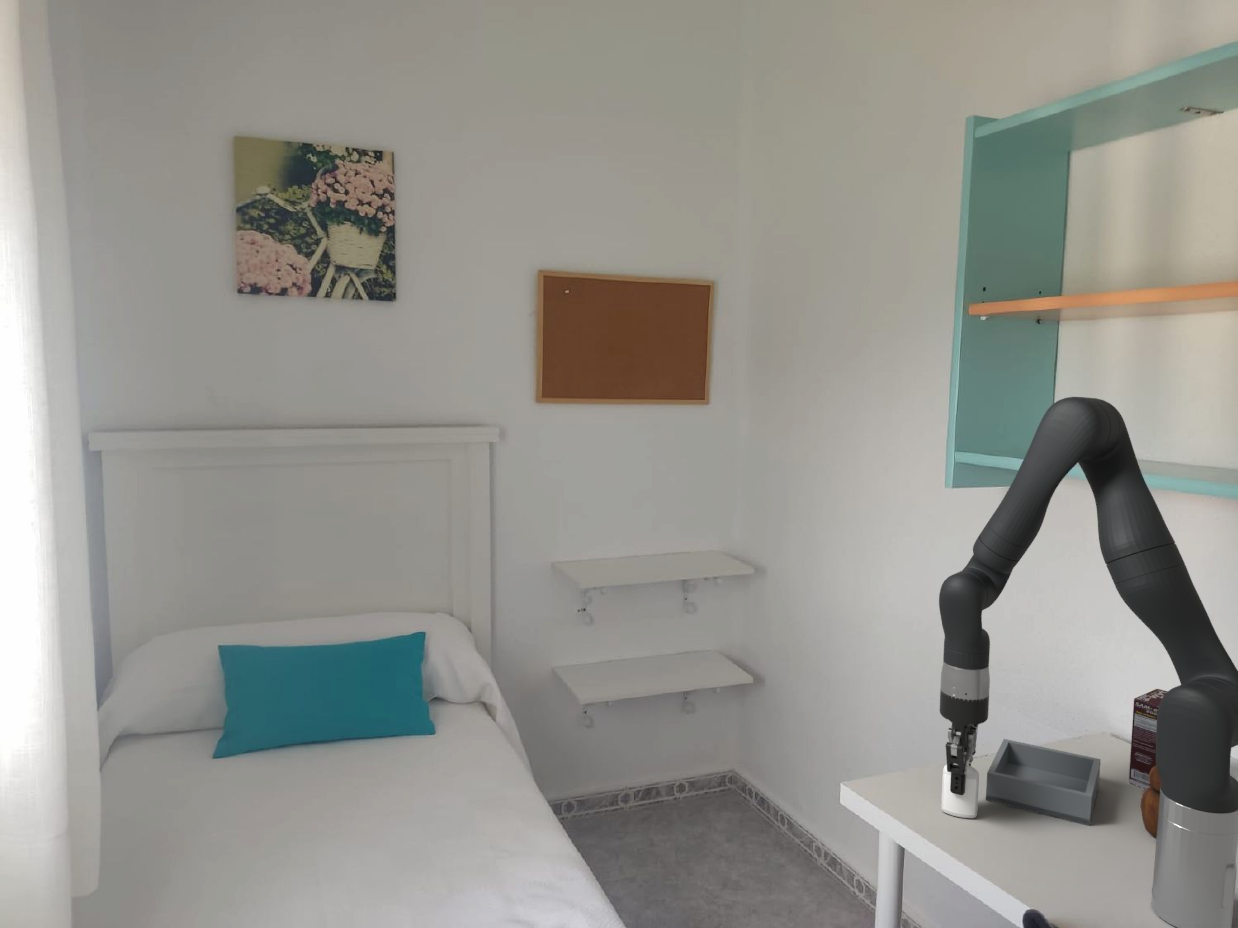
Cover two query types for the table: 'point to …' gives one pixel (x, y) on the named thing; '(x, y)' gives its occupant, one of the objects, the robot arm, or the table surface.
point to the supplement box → (1144, 737)
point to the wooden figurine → (1151, 802)
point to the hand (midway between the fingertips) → (960, 787)
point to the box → (1044, 781)
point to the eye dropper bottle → (961, 803)
